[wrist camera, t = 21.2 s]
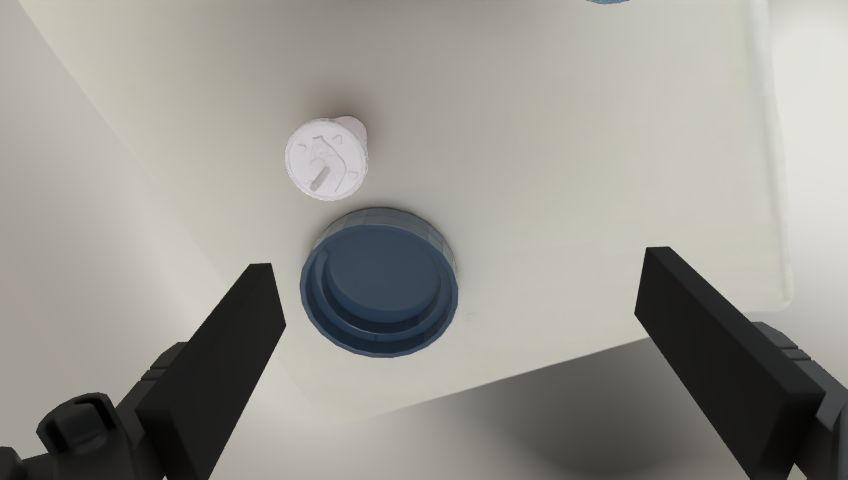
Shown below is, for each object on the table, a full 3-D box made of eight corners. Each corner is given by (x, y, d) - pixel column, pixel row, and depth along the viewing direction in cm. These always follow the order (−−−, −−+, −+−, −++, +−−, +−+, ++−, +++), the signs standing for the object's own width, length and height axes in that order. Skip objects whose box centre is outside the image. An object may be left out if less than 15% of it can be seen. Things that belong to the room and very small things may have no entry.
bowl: (378, 175, 44) (373, 190, 40) (486, 275, 48) (490, 297, 44) (282, 272, 49) (268, 294, 45) (387, 354, 54) (383, 380, 49)
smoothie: (327, 173, 44) (283, 231, 31) (305, 109, 41) (247, 144, 28) (388, 160, 43) (369, 213, 30) (370, 93, 40) (341, 122, 28)
